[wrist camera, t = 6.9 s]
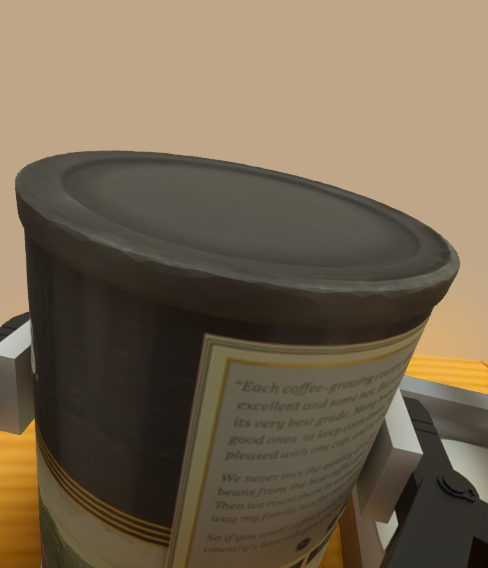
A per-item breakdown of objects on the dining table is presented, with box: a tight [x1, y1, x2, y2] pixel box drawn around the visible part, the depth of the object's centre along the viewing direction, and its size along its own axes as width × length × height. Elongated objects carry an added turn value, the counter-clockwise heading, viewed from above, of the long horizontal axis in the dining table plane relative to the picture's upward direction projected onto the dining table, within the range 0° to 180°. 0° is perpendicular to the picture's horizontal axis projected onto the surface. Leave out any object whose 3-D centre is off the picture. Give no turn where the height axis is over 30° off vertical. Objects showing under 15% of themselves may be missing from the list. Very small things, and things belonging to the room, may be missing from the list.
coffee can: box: [15, 151, 460, 568], centre depth 13 cm, size 10×10×14 cm
